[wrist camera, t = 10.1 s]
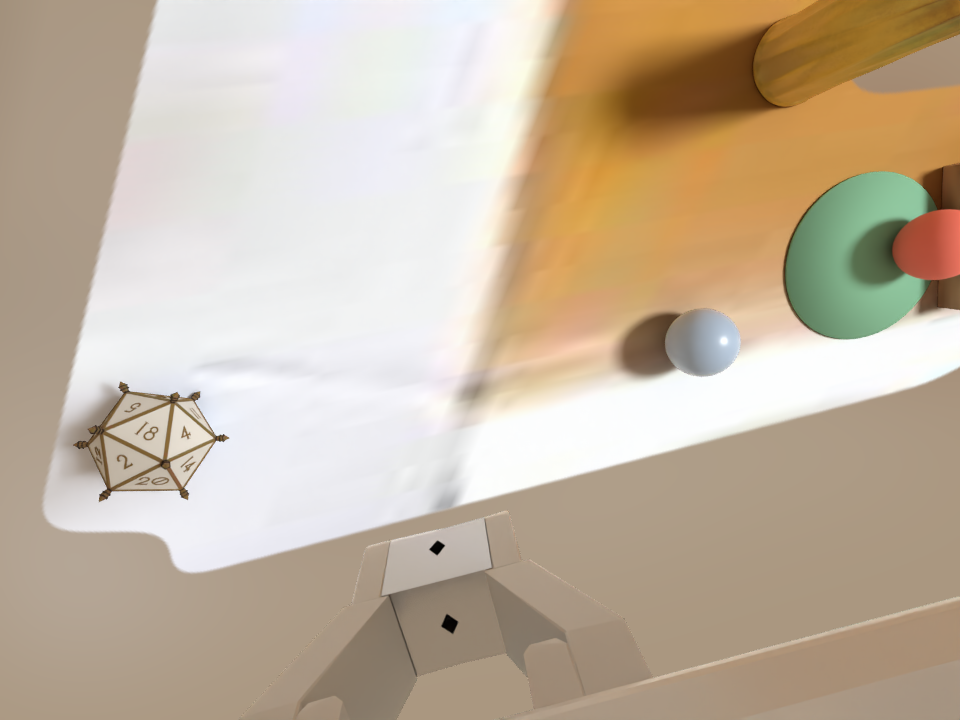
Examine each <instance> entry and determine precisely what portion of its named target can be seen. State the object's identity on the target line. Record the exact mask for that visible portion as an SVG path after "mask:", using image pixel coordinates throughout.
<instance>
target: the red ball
mask: <svg viewBox="0 0 960 720" xmlns="http://www.w3.org/2000/svg"><path fill="white" fill-rule="evenodd" d="M892 254H893V258H894V261H895V263H896V264H897V266H898V267H899V268H900V269H901V270H902V271H903V272H905V273H906V274H908V275H910V276H913V277H915V278H919V279H925V280H941V279H947V278H951V277H954V276H957V275H959V274H960V210H953V209H944V210H936V211H932V212H929V213H926V214H923V215H921V216H918V217H917V218H915V219H913V220H912V221H910V222H909V223H907V224H906V225H905V226H904V227H903V228H902V229H901V230H900V232H899V233H898V234H897V236H896V238H895V240H894V243H893V247H892Z"/></svg>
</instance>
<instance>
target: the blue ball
mask: <svg viewBox="0 0 960 720" xmlns="http://www.w3.org/2000/svg"><path fill="white" fill-rule="evenodd" d="M740 344H741V340H740V334H739V331H738V329H737V327H736V325H735V324H734V322H733V321H732V320H731V319H730V318H729V317H728V316H726V315H725V314H723V313H721V312H719V311H716V310H713V309H705V308H703V309H694V310H690V311H688V312H685V313H683V314H682V315H680V316H679V317H678V318H676V319H675V320H674V321H673V323H672V324H671V325H670V327H669V329H668V331H667V333H666V337H665V349H666V353H667V355H668V357H669V359H670V361H671V362H672V363H673V364H674V366H676V367H677V368H678V369H679V370H681V371H683V372H684V373H687V374H689V375H693V376H700V377H702V376H712V375H715V374H718V373H720V372H722V371H724V370H725V369H727V368H728V367H729V366H730V365H731V364H732V363H733V362H734V361H735V359H736V357H737V355H738V353H739V350H740Z"/></svg>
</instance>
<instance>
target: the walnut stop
mask: <svg viewBox="0 0 960 720" xmlns="http://www.w3.org/2000/svg"><path fill="white" fill-rule="evenodd" d="M944 209H953V210H960V163H957V164H953V165H949V166H945V167H943V184H942V208H941V210H944ZM938 307H941V308H949V309H956V310H960V274H959V275H957V276H954V277H951V278H947V279H941V280H939V282H938Z"/></svg>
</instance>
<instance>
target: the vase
mask: <svg viewBox="0 0 960 720" xmlns="http://www.w3.org/2000/svg"><path fill="white" fill-rule="evenodd" d="M958 34H960V0H818V1H817V2H815V3H813V4H812V5H810V6H808V7H807V8H805V9H804V10H802V11H800V12H798V13H796V14H794V15H791V16H788V17H786V18H783V19H781V20H780V21H778V22H776V23H775V24H774V25H772V26H771V27H770V28H769V29H768V31H767V32H766V33H765V35H764V36H763V38H762V39H761V41H760V43H759V45H758V47H757V49H756V53H755V57H754V62H753V74H754V80H755V83H756V86H757V88H758V90H759V91H760V93H761V94H762V95H763V97H764V98H765V99H766V100H768V101H769V102H771V103H772V104H775V105H778V106H784V107H787V106H794V105H798V104H801V103H803V102H805V101H807V100H808V99H810V98H811V97H814V96H816V95H818V94H820V93H822V92H824V91H827V90H829V89H831V88H833V87H835V86H837V85H840V84H842V83H844V82H847V81H849V80H852V79H854V78H856V77H859V76H861V75H864V74H866V73H869V72H871V71H873V70H876V69H878V68H880V67H883V66H885V65H887V64H890V63H892V62H894V61H896V60H898V59H901V58H903V57H905V56H907V55H910V54H912V53H914V52H917V51H919V50H921V49H923V48H926V47H928V46H931V45H933V44H936V43H938V42H941V41H943V40H946V39H949V38H951V37H954V36H956V35H958Z"/></svg>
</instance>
